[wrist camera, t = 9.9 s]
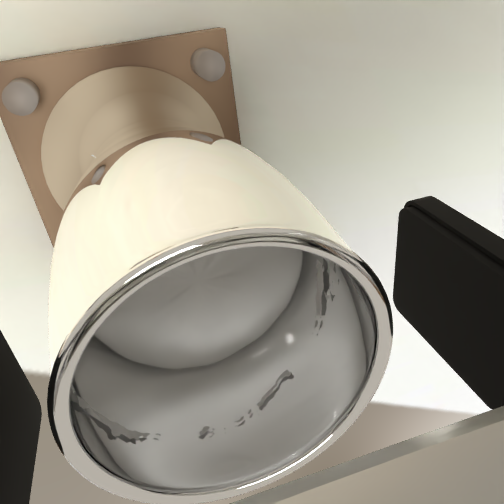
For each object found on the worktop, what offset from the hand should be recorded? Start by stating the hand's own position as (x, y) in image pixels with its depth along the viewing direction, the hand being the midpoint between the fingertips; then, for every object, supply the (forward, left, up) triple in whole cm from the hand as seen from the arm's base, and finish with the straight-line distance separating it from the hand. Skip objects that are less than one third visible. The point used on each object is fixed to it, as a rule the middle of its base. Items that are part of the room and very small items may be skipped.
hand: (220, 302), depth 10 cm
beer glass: (0, 0, -13) cm, 13 cm away
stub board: (+1, 0, -14) cm, 14 cm away
